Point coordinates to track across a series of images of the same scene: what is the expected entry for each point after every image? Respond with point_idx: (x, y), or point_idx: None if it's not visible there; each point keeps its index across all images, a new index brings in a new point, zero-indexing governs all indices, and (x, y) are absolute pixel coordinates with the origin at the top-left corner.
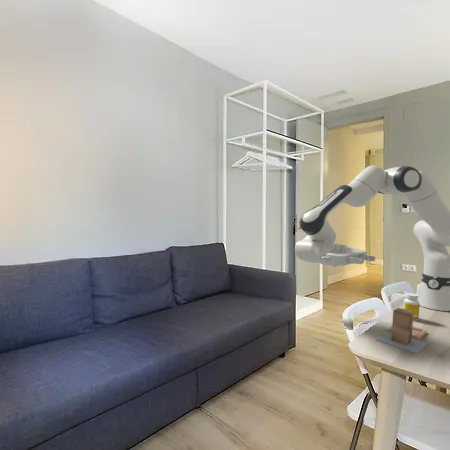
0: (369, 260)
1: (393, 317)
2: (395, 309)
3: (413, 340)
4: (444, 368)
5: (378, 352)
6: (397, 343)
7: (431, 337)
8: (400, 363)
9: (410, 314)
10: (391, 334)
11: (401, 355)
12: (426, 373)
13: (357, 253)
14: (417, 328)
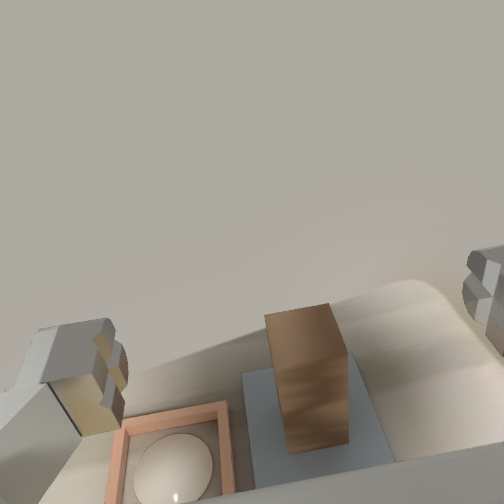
0: (120, 410)
1: (347, 373)
2: (320, 356)
3: (261, 404)
4: (358, 296)
5: (485, 421)
6: (349, 417)
7: (152, 402)
8: (465, 349)
9: (305, 311)
10: (284, 480)
11: (412, 374)
12: (435, 300)
13: (251, 494)
14: (122, 449)
